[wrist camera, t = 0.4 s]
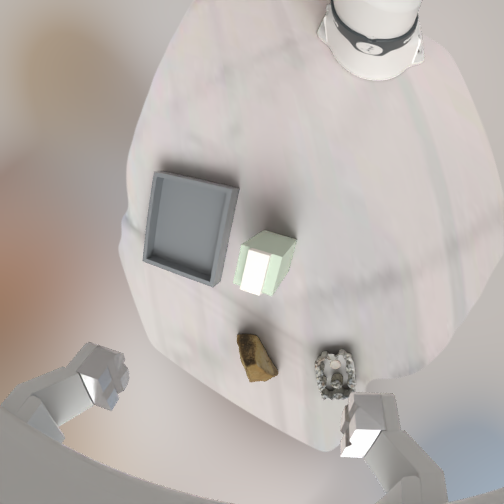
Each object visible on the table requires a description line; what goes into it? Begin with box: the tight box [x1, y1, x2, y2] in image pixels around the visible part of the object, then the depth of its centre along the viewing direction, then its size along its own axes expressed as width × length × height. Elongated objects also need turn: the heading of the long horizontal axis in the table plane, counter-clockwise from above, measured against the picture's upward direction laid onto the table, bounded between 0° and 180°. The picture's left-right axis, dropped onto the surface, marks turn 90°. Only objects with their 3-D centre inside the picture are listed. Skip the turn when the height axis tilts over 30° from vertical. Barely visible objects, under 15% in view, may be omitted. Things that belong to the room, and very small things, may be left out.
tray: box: [143, 171, 239, 287], centre depth 58 cm, size 18×16×4 cm
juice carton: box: [233, 230, 297, 296], centre depth 49 cm, size 6×6×13 cm
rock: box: [237, 334, 278, 382], centre depth 59 cm, size 11×9×10 cm
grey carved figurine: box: [315, 349, 355, 400], centre depth 56 cm, size 11×8×4 cm
